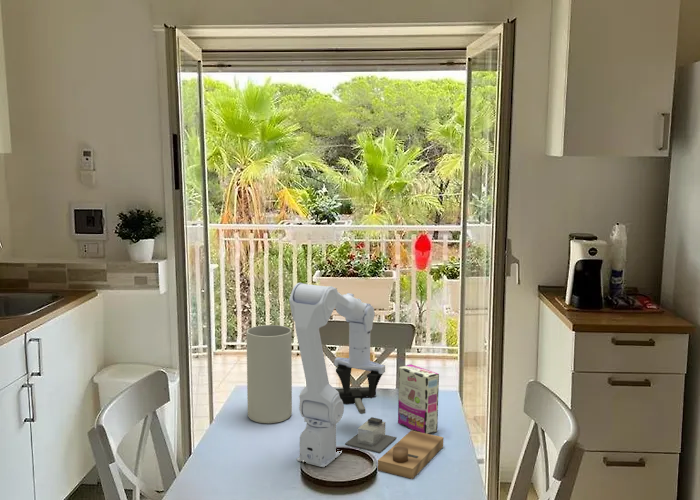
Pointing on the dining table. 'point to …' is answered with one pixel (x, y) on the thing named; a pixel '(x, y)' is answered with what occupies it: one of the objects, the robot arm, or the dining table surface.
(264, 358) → the cylinder vase
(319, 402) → the robot arm
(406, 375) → the candy bar box
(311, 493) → the dining table surface
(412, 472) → the wooden board with knob
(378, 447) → the mat
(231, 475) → the dining table surface
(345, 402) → the black two-tone device
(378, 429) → the off-white rectangular block
